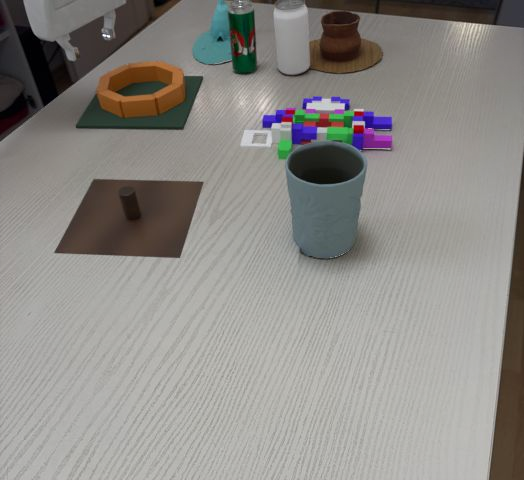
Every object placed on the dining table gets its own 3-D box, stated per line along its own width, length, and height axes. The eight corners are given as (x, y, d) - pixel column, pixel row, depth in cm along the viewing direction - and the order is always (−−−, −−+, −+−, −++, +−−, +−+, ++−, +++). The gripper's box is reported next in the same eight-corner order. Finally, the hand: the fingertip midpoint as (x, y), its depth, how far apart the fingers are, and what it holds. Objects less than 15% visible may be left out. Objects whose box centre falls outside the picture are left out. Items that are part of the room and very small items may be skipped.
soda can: (253, 62, 113) (249, -4, 104) (260, 72, 110) (257, 5, 101) (229, 66, 112) (223, 1, 103) (236, 76, 109) (231, 10, 100)
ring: (97, 120, 99) (92, 104, 97) (106, 80, 110) (102, 65, 107) (184, 113, 100) (182, 96, 97) (185, 74, 110) (183, 58, 107)
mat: (76, 128, 99) (75, 125, 99) (107, 78, 111) (107, 75, 111) (183, 129, 97) (182, 126, 96) (203, 78, 109) (202, 75, 109)
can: (276, 63, 112) (270, -2, 102) (307, 57, 112) (304, -8, 102) (280, 78, 108) (274, 12, 98) (312, 72, 108) (310, 6, 98)
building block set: (390, 103, 99) (393, 78, 96) (392, 166, 86) (396, 139, 83) (254, 101, 102) (253, 77, 99) (237, 161, 89) (235, 136, 86)
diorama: (184, 65, 114) (177, 19, 107) (202, 27, 126) (196, -16, 120) (241, 65, 112) (238, 19, 106) (253, 26, 125) (251, -17, 118)
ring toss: (55, 257, 76) (42, 228, 72) (94, 183, 87) (85, 154, 83) (180, 262, 74) (174, 233, 70) (204, 185, 85) (200, 156, 82)
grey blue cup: (348, 269, 72) (356, 191, 62) (276, 254, 74) (273, 177, 65) (366, 223, 77) (376, 145, 68) (299, 211, 80) (299, 134, 71)
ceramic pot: (280, 61, 112) (279, 24, 107) (324, 31, 121) (325, -5, 116) (357, 81, 105) (361, 42, 100) (398, 47, 114) (403, 9, 109)
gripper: (96, -63, 94) (117, 25, 104) (6, -26, 83) (39, 68, 93) (124, -59, 91) (142, 30, 102) (35, -21, 81) (65, 75, 91)
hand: (92, 48), depth 98 cm, fingers open, 8 cm apart
